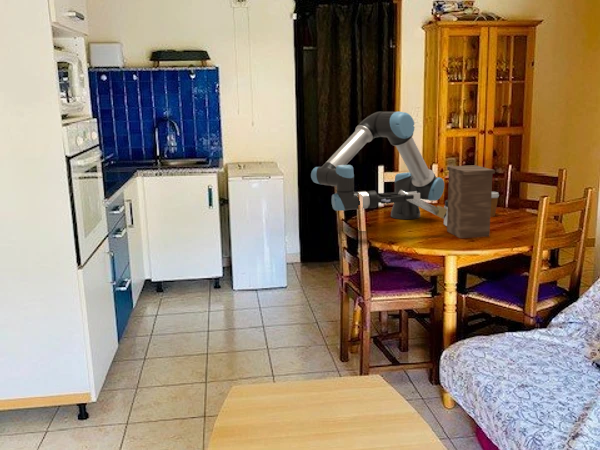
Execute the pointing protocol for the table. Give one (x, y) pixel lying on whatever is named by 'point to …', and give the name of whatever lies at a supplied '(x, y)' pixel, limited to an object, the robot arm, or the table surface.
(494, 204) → the disposable coffee cup
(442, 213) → the pipe
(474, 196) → the stand
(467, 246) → the table surface
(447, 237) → the table surface
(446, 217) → the jar
